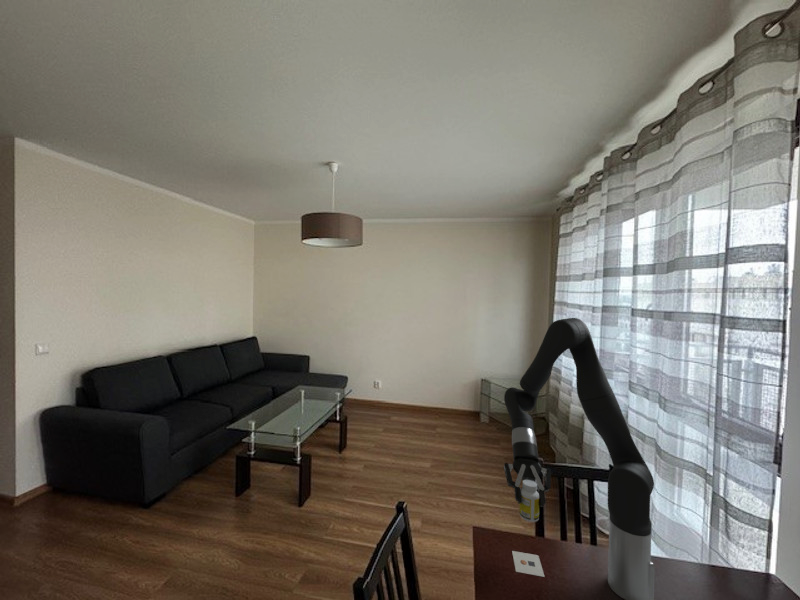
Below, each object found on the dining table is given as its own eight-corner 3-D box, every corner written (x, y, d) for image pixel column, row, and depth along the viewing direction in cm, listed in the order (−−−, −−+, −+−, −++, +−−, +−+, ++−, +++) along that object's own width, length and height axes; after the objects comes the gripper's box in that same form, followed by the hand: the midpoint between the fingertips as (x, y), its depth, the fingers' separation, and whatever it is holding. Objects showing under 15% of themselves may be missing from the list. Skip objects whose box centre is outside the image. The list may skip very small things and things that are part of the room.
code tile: (538, 556, 99) (538, 555, 99) (544, 577, 91) (544, 576, 91) (511, 551, 100) (511, 550, 100) (516, 572, 92) (516, 571, 92)
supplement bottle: (535, 511, 98) (536, 478, 98) (541, 523, 93) (542, 489, 93) (517, 510, 99) (518, 477, 99) (521, 521, 94) (523, 487, 94)
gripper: (502, 437, 105) (506, 496, 93) (550, 443, 102) (560, 504, 90) (500, 447, 110) (503, 504, 98) (545, 452, 107) (554, 512, 95)
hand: (530, 504), depth 94 cm, fingers closed on supplement bottle, 5 cm apart
